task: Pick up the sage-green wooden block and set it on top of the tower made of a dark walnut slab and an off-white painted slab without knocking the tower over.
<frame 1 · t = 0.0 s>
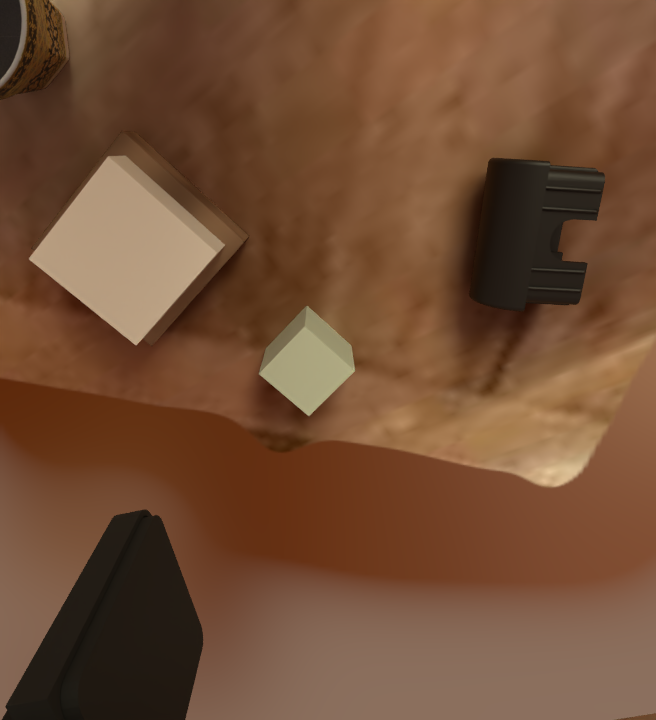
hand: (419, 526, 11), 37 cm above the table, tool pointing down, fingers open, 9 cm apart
ceramic cup: (1, 38, 41), on the table
green block: (308, 346, 49), on the table
walnut slab: (150, 238, 46), on the table, touching white slab
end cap: (512, 227, 46), on the table
white slab: (138, 247, 43), point 3 cm above the table, touching walnut slab
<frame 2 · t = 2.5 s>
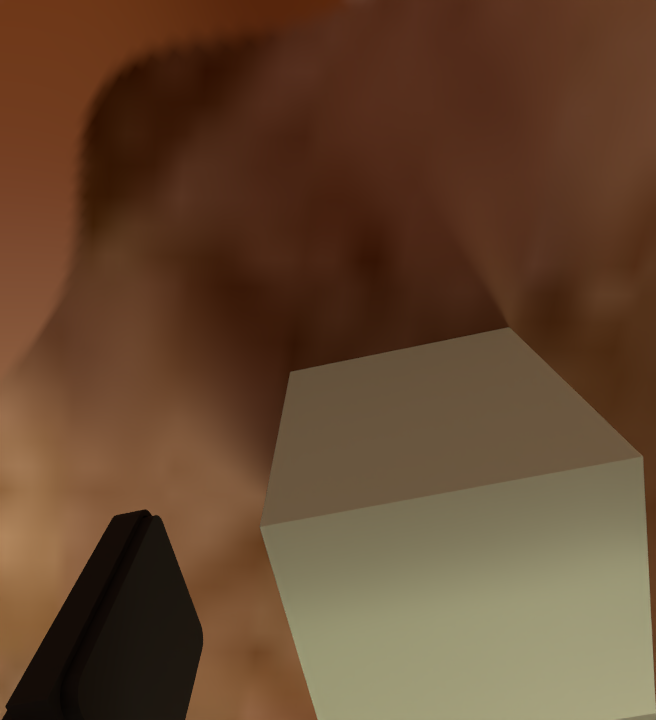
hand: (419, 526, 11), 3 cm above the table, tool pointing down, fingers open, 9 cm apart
green block: (416, 446, 14), on the table
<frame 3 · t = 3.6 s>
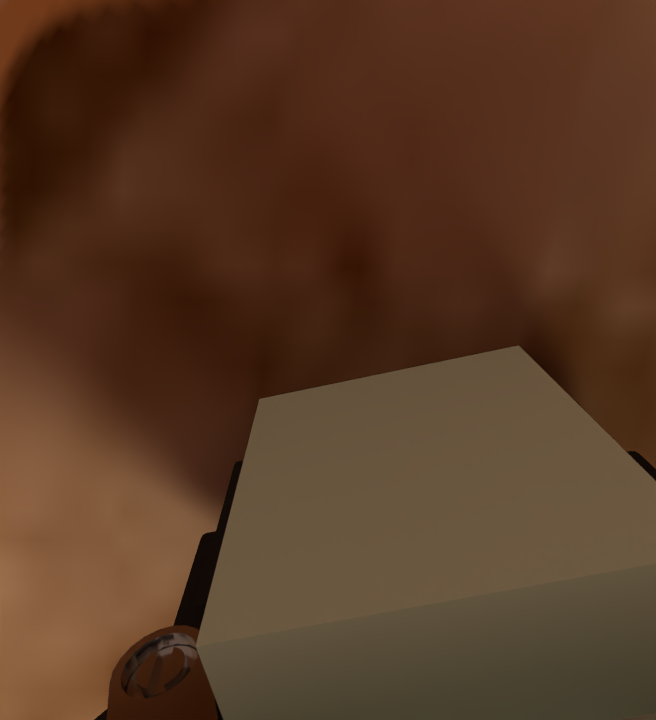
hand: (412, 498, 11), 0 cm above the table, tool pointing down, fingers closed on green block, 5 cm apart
green block: (409, 484, 12), on the table, touching gripper
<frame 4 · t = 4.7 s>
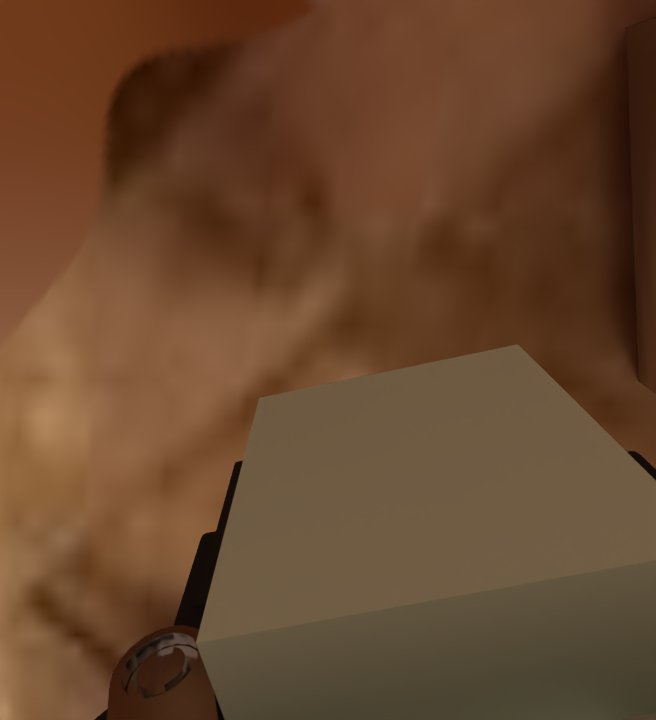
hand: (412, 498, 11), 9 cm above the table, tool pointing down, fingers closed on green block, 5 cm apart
green block: (409, 483, 12), point 8 cm above the table, touching gripper
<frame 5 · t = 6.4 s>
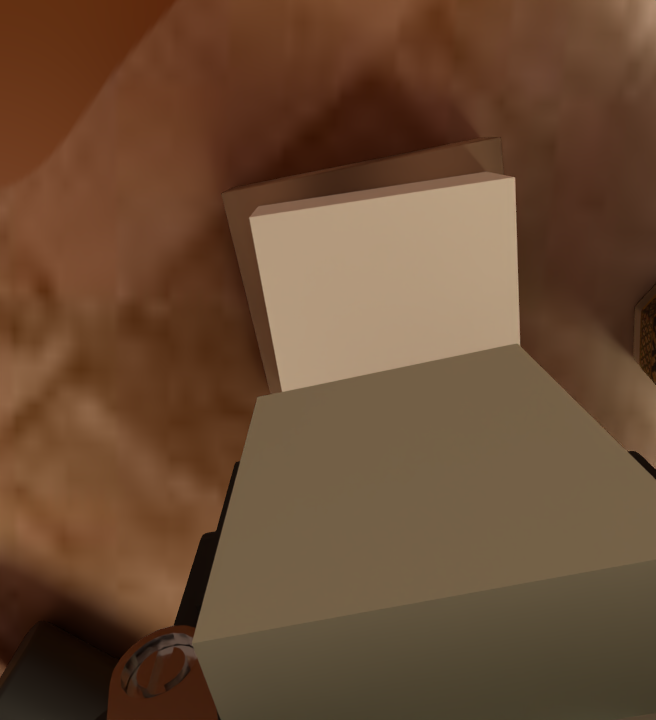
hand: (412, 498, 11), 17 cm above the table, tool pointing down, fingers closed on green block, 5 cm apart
green block: (407, 483, 12), point 17 cm above the table, touching gripper
walnut slab: (374, 282, 28), on the table, touching white slab
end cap: (105, 664, 36), on the table
white slab: (384, 299, 25), point 3 cm above the table, touching walnut slab
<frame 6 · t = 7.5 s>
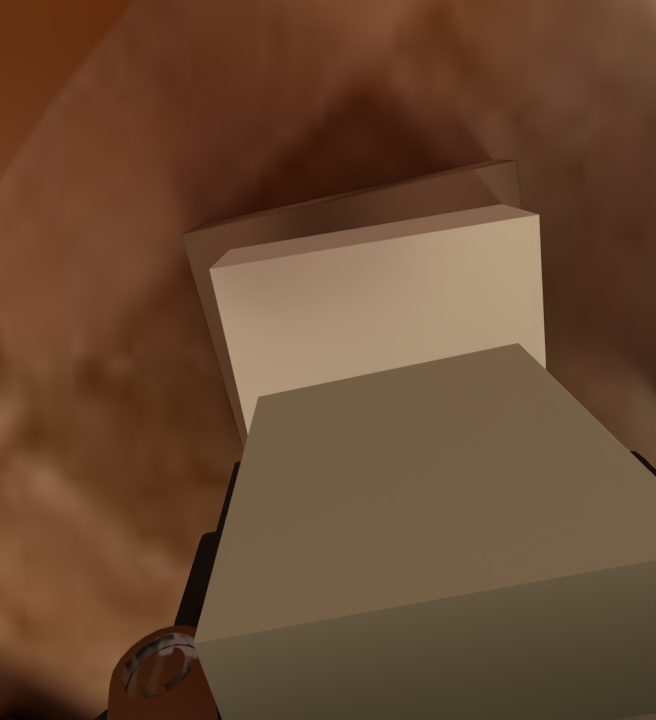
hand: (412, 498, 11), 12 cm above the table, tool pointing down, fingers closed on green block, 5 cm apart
green block: (408, 482, 12), point 12 cm above the table, touching gripper
walnut slab: (369, 328, 24), on the table, touching white slab
white slab: (382, 355, 21), point 3 cm above the table, touching walnut slab
when the fingers open (9 cm above the table, at t = 8.5 s): green block drops 2 cm, point 7 cm above the table.
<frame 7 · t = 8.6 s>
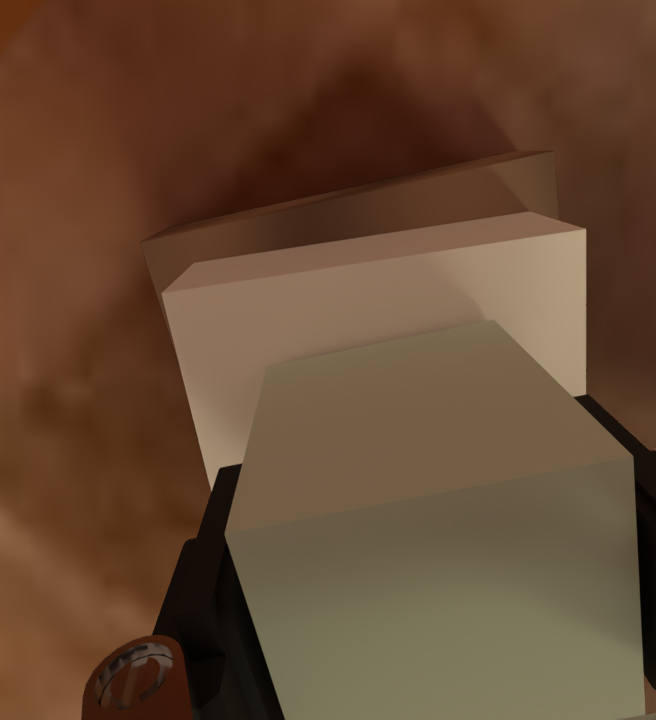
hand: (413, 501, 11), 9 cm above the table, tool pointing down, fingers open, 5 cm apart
green block: (398, 443, 14), point 7 cm above the table
walnut slab: (370, 349, 20), on the table, touching white slab
white slab: (380, 391, 17), point 3 cm above the table, touching walnut slab
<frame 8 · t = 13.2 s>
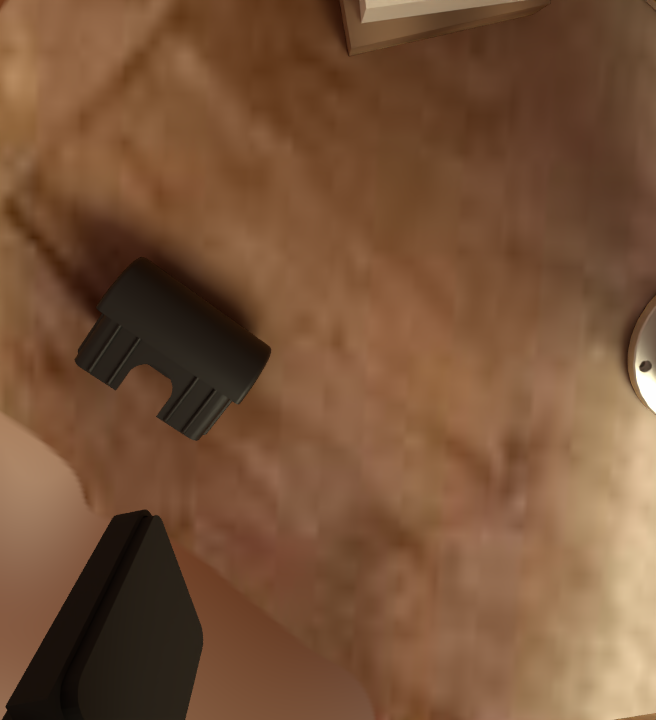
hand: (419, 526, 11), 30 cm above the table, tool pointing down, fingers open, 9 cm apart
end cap: (189, 330, 41), on the table
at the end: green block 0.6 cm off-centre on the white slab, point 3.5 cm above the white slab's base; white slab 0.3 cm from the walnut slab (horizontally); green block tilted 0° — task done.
